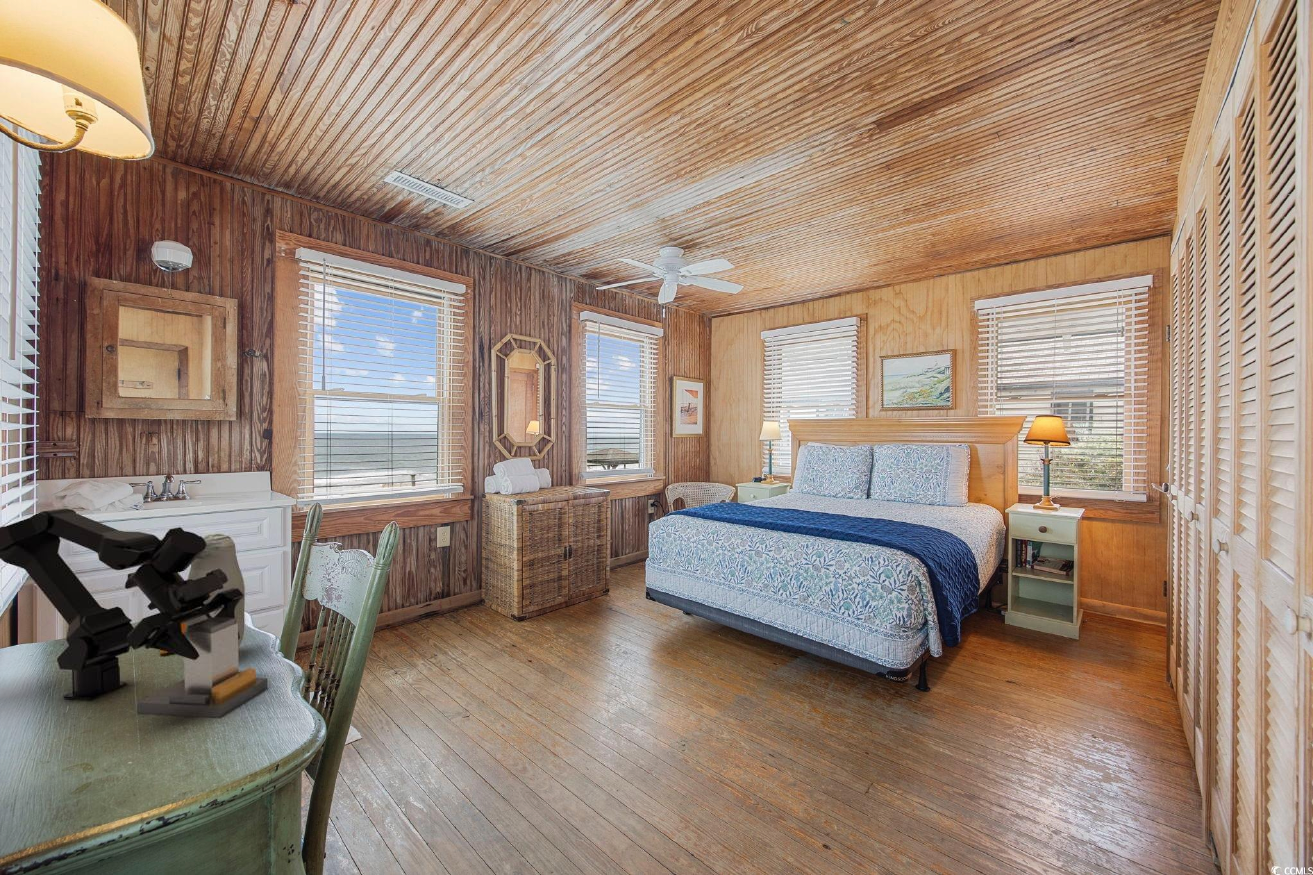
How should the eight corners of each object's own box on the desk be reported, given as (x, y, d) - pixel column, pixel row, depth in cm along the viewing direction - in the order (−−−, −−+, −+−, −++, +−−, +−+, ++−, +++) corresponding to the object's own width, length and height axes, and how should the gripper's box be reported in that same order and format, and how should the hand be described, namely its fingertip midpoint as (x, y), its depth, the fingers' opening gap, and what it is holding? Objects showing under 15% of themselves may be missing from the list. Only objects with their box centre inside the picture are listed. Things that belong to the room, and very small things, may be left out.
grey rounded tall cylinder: (200, 652, 125) (198, 531, 124) (252, 647, 128) (251, 529, 127) (175, 671, 115) (173, 540, 115) (232, 665, 118) (230, 537, 118)
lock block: (184, 696, 101) (183, 627, 101) (212, 682, 106) (211, 616, 106) (212, 698, 100) (211, 628, 100) (238, 683, 106) (237, 617, 106)
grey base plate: (136, 713, 99) (136, 688, 99) (193, 684, 110) (192, 662, 110) (219, 717, 97) (218, 692, 97) (267, 687, 108) (267, 665, 108)
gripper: (140, 573, 94) (198, 639, 93) (235, 548, 113) (284, 604, 112) (101, 616, 95) (158, 682, 94) (202, 585, 114) (250, 640, 113)
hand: (218, 648), depth 103 cm, fingers open, 8 cm apart
